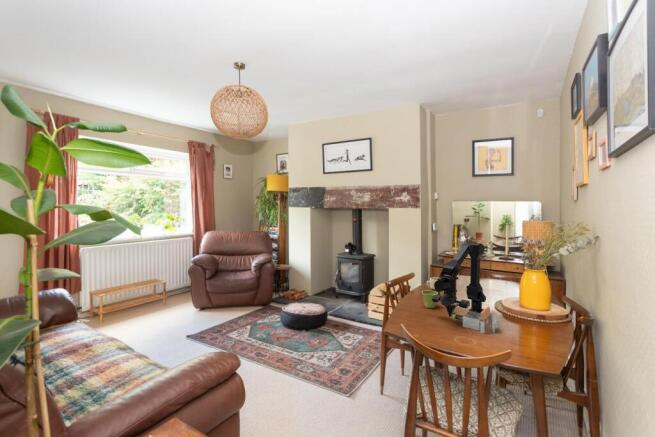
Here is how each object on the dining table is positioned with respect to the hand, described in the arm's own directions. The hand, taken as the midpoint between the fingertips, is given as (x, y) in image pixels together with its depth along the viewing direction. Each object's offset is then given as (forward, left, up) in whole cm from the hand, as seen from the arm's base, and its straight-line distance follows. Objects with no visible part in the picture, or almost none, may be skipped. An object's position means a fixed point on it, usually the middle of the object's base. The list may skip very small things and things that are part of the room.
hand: (450, 316), depth 177 cm
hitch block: (0, +16, -2) cm, 16 cm away
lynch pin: (0, +8, -1) cm, 9 cm away
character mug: (-32, -22, -2) cm, 39 cm away
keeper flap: (0, +18, +5) cm, 19 cm away
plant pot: (-14, -18, -2) cm, 23 cm away
